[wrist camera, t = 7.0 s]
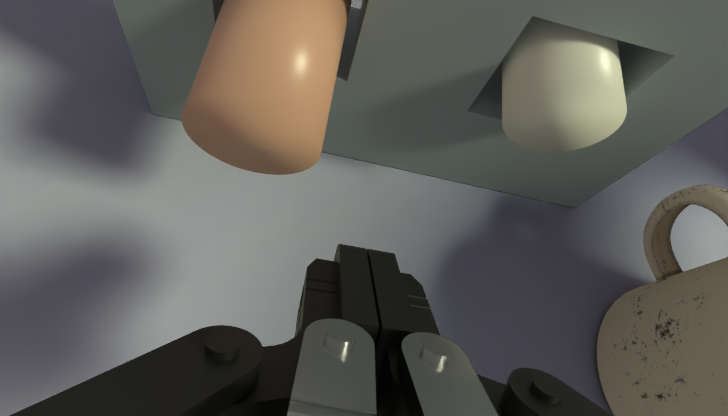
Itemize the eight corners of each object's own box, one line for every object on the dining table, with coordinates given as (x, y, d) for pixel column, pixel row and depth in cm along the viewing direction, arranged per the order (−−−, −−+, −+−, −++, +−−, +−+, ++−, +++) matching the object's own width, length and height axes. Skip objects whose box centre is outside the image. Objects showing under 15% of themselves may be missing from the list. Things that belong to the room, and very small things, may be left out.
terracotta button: (243, 5, 18) (240, -97, 14) (344, 31, 18) (364, -61, 15) (191, 158, 15) (170, 77, 11) (313, 184, 15) (330, 115, 12)
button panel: (177, 50, 24) (99, -303, 12) (569, 145, 26) (812, -65, 15) (152, 113, 22) (32, -228, 10) (574, 208, 25) (854, 25, 13)
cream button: (486, 9, 21) (533, -76, 17) (567, 31, 21) (629, -46, 18) (483, 138, 18) (540, 68, 14) (578, 160, 18) (656, 99, 15)
